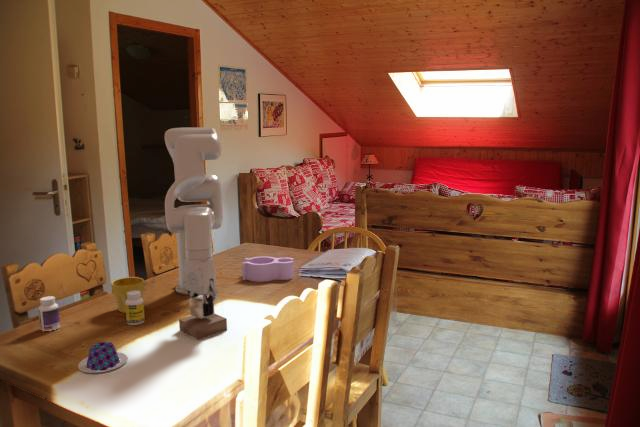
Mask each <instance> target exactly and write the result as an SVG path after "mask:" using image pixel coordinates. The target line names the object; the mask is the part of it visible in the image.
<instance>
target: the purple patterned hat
mask: <svg viewBox="0 0 640 427" xmlns="http://www.w3.org/2000/svg"><path fill="white" fill-rule="evenodd" d="M127 361H128V355H127V354H126V353H123V352H119V351H117V350H116V347H115V345H114V343H113V342H112V341H102V342H96V343H95V344H92V345H91V346H90V347H89V350H88V356H87V357H85V358H83V359H82V360H81V361H80V362H79V363H78V365H77V368H78V370H79V371H81V372H84V373H89V374H96V373H104V372H109V371H112V370H115V369H117V368H120V367H122V366H123V365H124V364H126V362H127Z"/></svg>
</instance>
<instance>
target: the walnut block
mask: <svg viewBox="0 0 640 427" xmlns="http://www.w3.org/2000/svg"><path fill="white" fill-rule="evenodd" d="M178 324H179V332H181V333H183V334H185V335H187V336H189V337H191V338H193V339H195V340H197V341H201V340H203V339H206V338H208V337H212V336H214V335H217V334H220V333H223V332H226V331H228V321H227V318H226V317H223V315H219V314H217V313H215V312H214V314H212V315H210V316H207V317H204V318H201V319H200V318H198V317H195V316H192V315H188V316H185V317H182V318H179V319H178Z"/></svg>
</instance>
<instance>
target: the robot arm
mask: <svg viewBox="0 0 640 427" xmlns="http://www.w3.org/2000/svg"><path fill="white" fill-rule="evenodd" d="M164 143H165V146H166V149H167V151H168V153H169V155H170V157H171V159H172V162H173V168H174V172H173V173H174V182H173V183H172V184H171V186H170V187H169V189H168V190H167V192H166V195H165V198H164V214H165V215H164V216H165V224H166V228H167V230H168V231H169V232H170V233H174V234H176V235H175V236H176V243H177V256H178V260H177V261H178V273H179V275H178V277H175V281H177V282H178V285H177V286H176V287H175V291H176V293H177V294H180V295H189V299H190V298H193V297H196V296H200V295H203V299H204V303H203V313H204V316H205V317H207V316H209V315H212V314H213V302H214V303H215V299H216V298H217V297H218V296H219V293H220V292H219V290H218V289H217V277H216V276H217V275H216V274H217V273H216V267H215V262H214V258H213V244H212V241H213V240H212V231H214V230H219V229H220V228H221V227H222V226H223V220H224V219H223V213H224V212H223V199H222V198H223V197H222V196H223V194H222V184H221V181H220V180H221V179H220V178H219V177H218V176H217V175H215V174H206V171H205V165H204V164H205V163H204V161H216V160H219V159H220V157H221V154H222V145H221V140H220V137H219V135H218V132H217V130H216V129H215V128H214V127H208V126H207V127H204V126H203V127H198V126H197V127H187V126H186V127H173V128H169V129H168V130H165V132H164ZM176 200H179V201H180V202H182V203H183V202H186V203H191V202H192V203H193V202H208V204H207V203H205V204H189V205H180V206H178V207H175V201H176ZM207 296H209V297H208V298H207Z"/></svg>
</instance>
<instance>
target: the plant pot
mask: <svg viewBox="0 0 640 427" xmlns="http://www.w3.org/2000/svg"><path fill="white" fill-rule="evenodd" d="M110 290H111V294H112V295H114V299H115V301H116V302H115V303H116V306H117V309H118V311H119V312H120V313H123V314H126V307H125V301H126V300H127V299H128V298H127V292H129V291H135V290H137V291H140V292H141V296H140V297H141V298H142V296H143V292H144V291H145V280H144V278H141V277H138V276H128V277H121V278H117V279H114V280H113V281H111V283H110Z"/></svg>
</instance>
